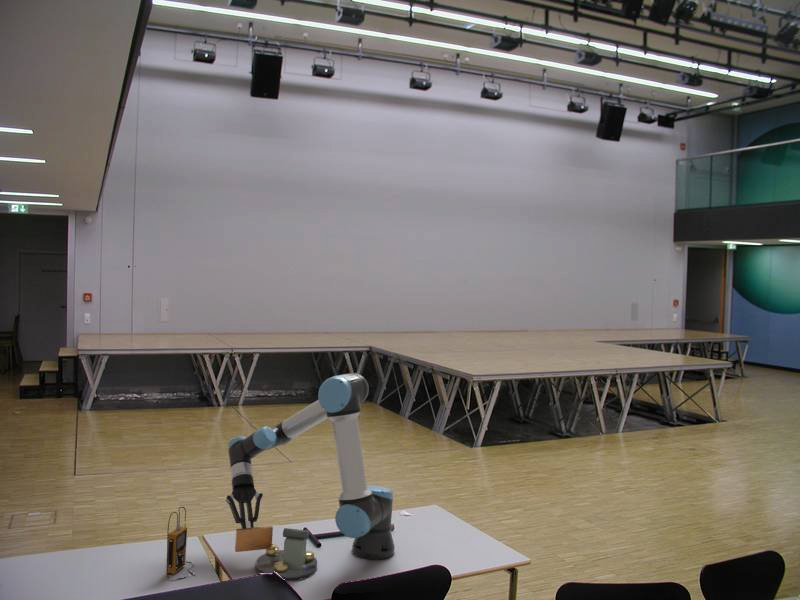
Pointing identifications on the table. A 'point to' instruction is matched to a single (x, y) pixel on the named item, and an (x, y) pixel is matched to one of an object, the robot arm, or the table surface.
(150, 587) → the table surface
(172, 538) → the multimeter
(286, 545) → the wedge with rod handle
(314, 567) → the tribrach plate
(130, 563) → the table surface
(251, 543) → the lever
